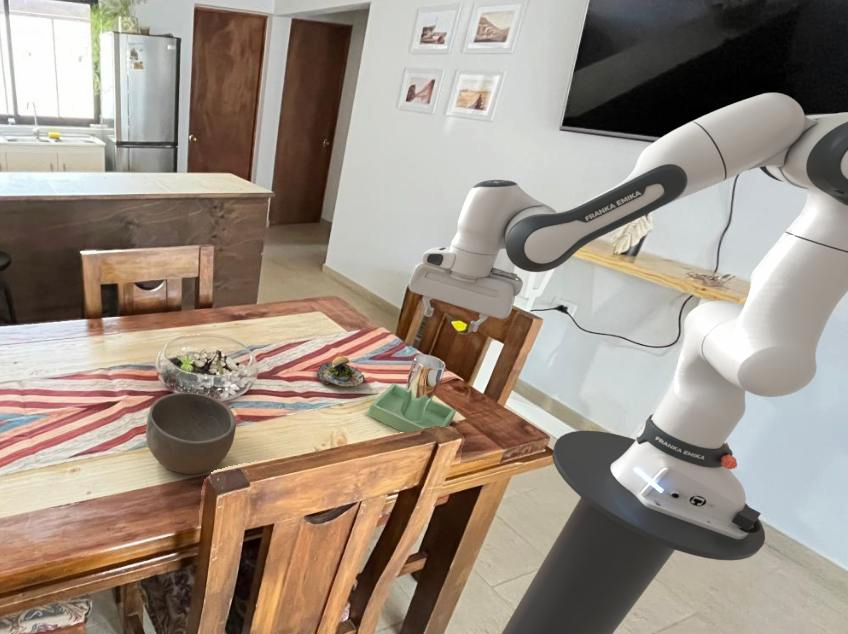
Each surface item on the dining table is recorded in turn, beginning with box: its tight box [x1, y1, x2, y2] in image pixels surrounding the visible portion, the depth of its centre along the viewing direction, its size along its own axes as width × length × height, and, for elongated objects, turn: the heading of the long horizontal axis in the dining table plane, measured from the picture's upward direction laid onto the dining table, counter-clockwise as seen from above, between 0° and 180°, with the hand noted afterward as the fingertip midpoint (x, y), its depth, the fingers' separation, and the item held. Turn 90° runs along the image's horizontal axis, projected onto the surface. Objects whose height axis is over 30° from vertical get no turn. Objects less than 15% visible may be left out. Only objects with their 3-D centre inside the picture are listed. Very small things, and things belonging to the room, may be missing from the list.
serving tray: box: [367, 382, 457, 434], centre depth 121 cm, size 16×14×3 cm
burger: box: [316, 355, 366, 388], centre depth 133 cm, size 12×12×8 cm
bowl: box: [145, 391, 237, 475], centre depth 100 cm, size 17×18×10 cm
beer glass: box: [398, 353, 446, 424], centre depth 118 cm, size 7×7×15 cm
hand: (449, 322), depth 111 cm, fingers open, 8 cm apart
